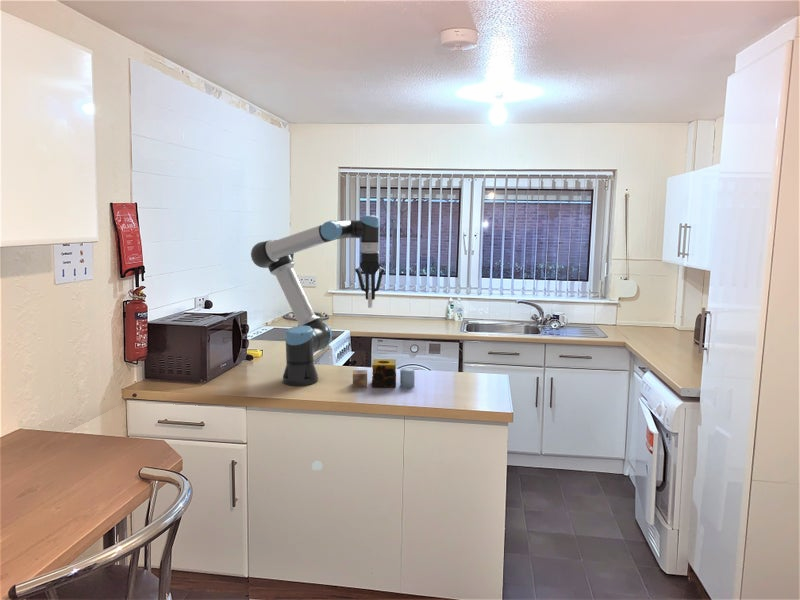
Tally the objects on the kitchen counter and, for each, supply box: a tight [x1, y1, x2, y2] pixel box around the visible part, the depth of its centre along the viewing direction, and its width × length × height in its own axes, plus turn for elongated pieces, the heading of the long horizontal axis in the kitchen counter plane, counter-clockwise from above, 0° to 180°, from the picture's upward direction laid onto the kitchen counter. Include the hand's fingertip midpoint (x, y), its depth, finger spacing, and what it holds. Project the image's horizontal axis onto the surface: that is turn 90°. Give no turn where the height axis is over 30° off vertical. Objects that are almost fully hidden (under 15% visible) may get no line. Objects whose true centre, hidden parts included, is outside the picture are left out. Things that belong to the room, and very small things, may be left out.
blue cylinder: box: [399, 367, 416, 389], centre depth 253 cm, size 6×6×7 cm
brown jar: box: [352, 369, 368, 389], centre depth 253 cm, size 6×6×6 cm
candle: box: [371, 358, 397, 389], centre depth 255 cm, size 10×10×10 cm
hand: (370, 307), depth 257 cm, fingers closed
